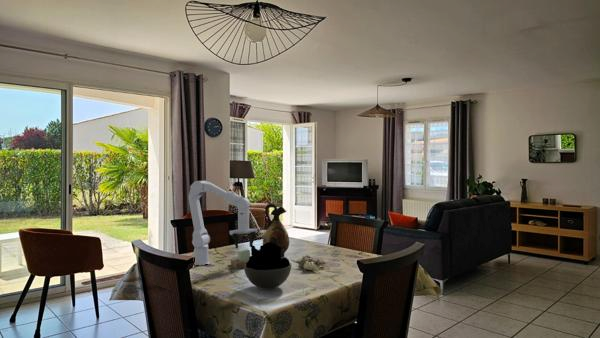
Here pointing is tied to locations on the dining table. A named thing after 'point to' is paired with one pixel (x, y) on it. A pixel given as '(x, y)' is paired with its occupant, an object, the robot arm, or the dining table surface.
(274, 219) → the ceramic jug
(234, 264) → the base block
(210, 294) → the dining table surface
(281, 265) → the coal bowl
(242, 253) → the cube
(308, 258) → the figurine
